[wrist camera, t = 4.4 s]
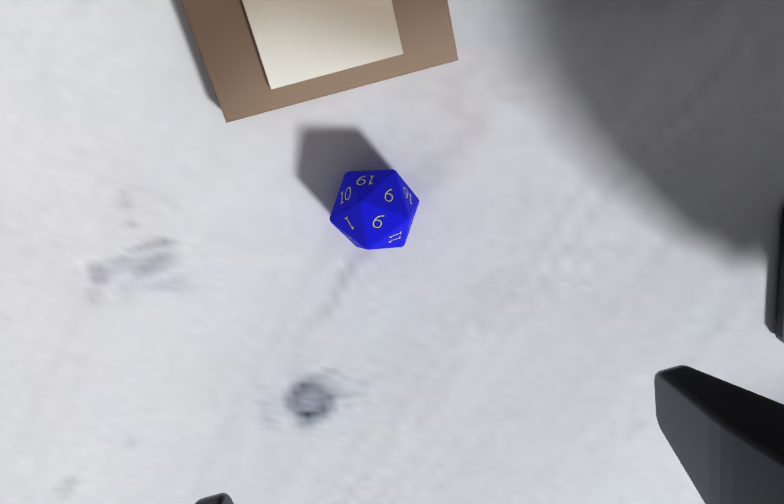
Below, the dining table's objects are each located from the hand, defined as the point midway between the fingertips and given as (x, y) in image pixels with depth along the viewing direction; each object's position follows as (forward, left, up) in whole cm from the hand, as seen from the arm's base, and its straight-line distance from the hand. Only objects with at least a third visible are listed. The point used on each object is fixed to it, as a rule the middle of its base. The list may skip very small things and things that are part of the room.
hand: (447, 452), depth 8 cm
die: (0, 0, -12) cm, 12 cm away
